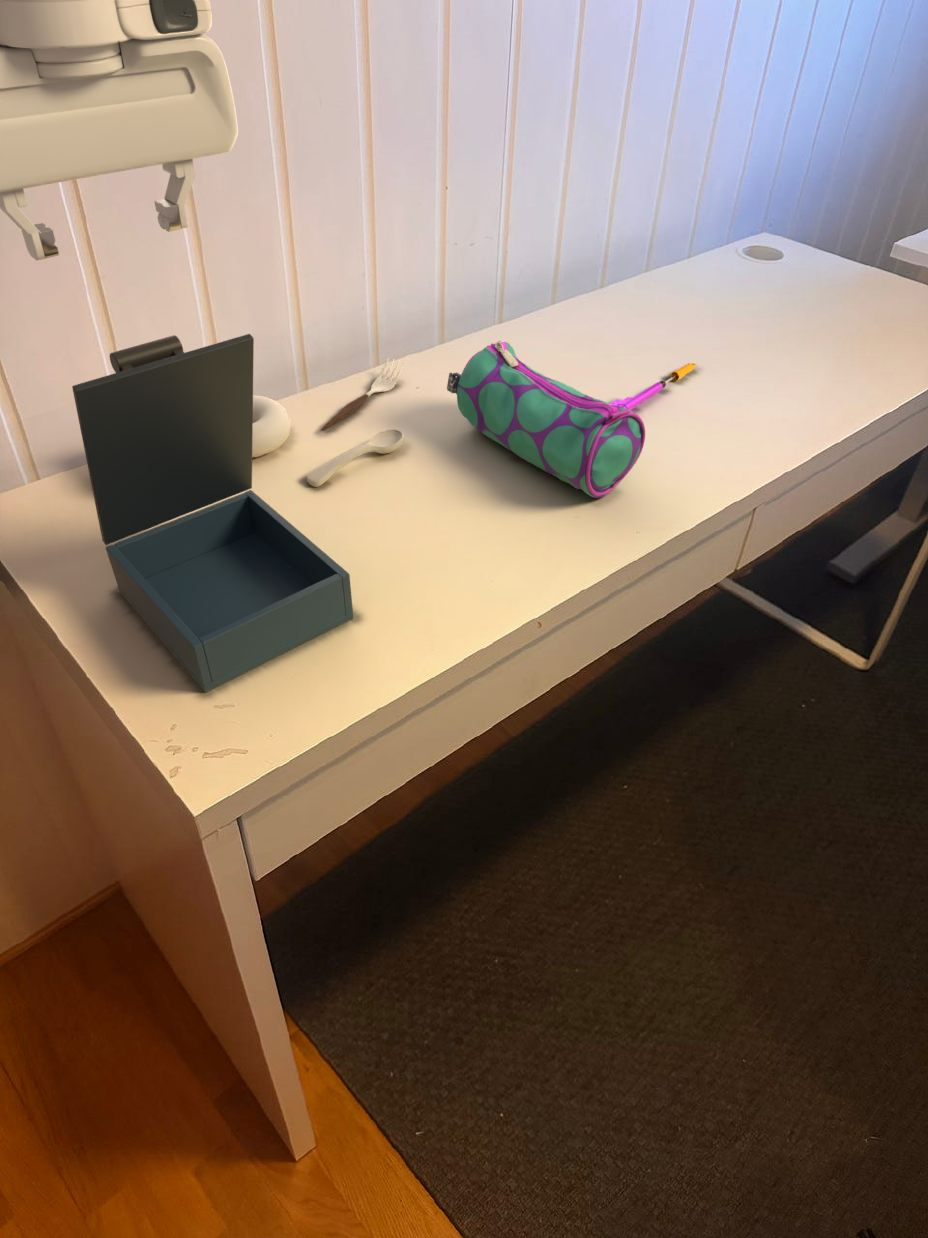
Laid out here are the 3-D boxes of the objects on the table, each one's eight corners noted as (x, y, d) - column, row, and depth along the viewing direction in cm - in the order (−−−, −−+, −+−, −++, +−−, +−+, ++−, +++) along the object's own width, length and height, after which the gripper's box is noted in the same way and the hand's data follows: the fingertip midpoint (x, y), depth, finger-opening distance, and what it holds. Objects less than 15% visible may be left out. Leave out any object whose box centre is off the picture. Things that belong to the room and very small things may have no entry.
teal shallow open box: (353, 618, 73) (349, 573, 70) (205, 693, 67) (193, 647, 64) (258, 532, 82) (250, 489, 79) (119, 591, 76) (105, 546, 72)
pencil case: (446, 430, 97) (445, 345, 90) (507, 405, 101) (511, 323, 94) (582, 517, 85) (592, 426, 78) (645, 485, 89) (660, 396, 82)
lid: (254, 337, 66) (223, 302, 67) (75, 391, 59) (46, 350, 61) (252, 488, 79) (226, 456, 80) (105, 545, 72) (80, 509, 74)
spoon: (411, 446, 94) (409, 430, 92) (321, 497, 88) (318, 480, 86) (392, 436, 95) (390, 419, 94) (303, 485, 89) (299, 468, 88)
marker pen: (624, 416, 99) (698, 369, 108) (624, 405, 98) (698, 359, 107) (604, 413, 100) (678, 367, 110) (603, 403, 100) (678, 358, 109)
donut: (236, 477, 89) (312, 438, 95) (230, 447, 87) (308, 409, 92) (178, 442, 94) (253, 407, 100) (170, 413, 92) (248, 378, 97)
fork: (311, 431, 96) (310, 415, 95) (387, 372, 107) (387, 356, 105) (332, 437, 95) (330, 420, 94) (406, 377, 106) (406, 361, 105)
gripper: (-119, 24, 46) (-28, 290, 55) (232, -4, 56) (261, 225, 66) (-151, 9, 50) (-60, 260, 59) (185, -15, 60) (218, 203, 69)
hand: (111, 241), depth 62 cm, fingers open, 8 cm apart
